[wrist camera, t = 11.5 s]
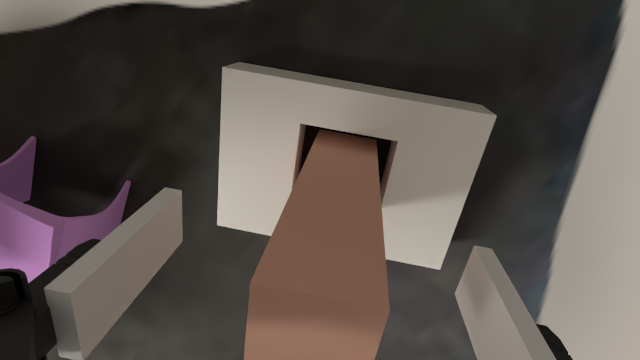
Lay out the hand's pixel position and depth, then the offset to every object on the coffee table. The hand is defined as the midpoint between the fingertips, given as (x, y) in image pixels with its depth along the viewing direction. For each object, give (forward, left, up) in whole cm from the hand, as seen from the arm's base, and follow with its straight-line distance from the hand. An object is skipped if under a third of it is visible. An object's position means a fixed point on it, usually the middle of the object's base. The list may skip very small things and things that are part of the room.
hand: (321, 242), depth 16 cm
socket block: (0, 0, -10) cm, 10 cm away
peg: (0, 0, -11) cm, 11 cm away
